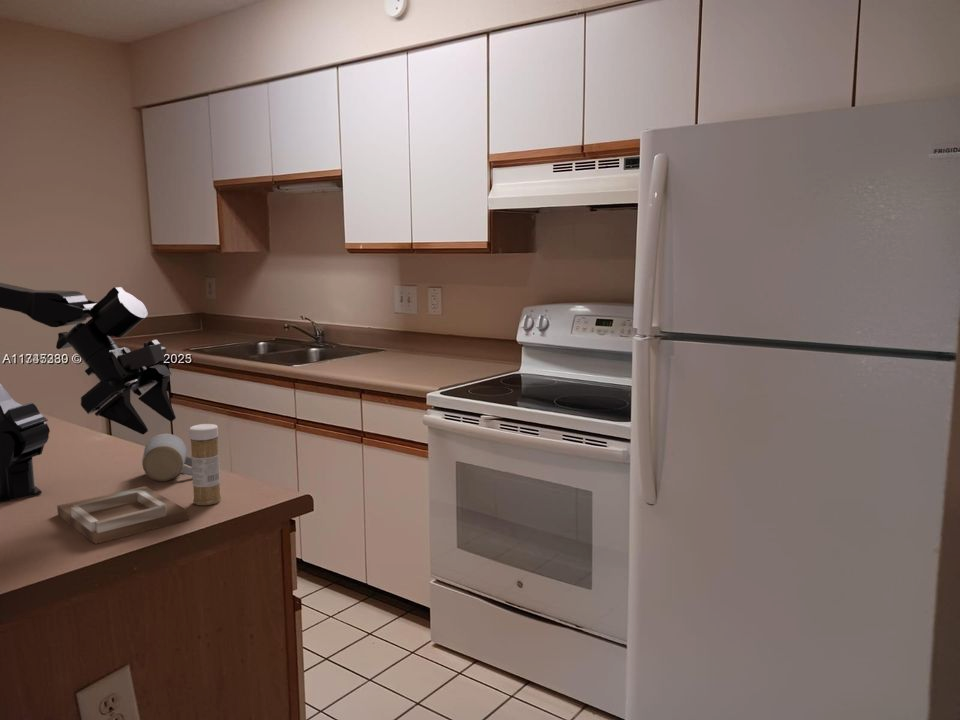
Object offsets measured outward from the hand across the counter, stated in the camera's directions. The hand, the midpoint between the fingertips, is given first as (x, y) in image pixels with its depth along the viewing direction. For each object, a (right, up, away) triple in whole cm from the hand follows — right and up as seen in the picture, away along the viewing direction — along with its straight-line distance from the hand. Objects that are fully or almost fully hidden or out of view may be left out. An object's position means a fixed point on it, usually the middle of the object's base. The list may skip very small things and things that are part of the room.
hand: (160, 426), depth 122 cm
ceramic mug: (-5, -11, +16) cm, 20 cm away
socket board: (-3, -14, -6) cm, 16 cm away
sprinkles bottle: (+8, -13, +1) cm, 15 cm away
